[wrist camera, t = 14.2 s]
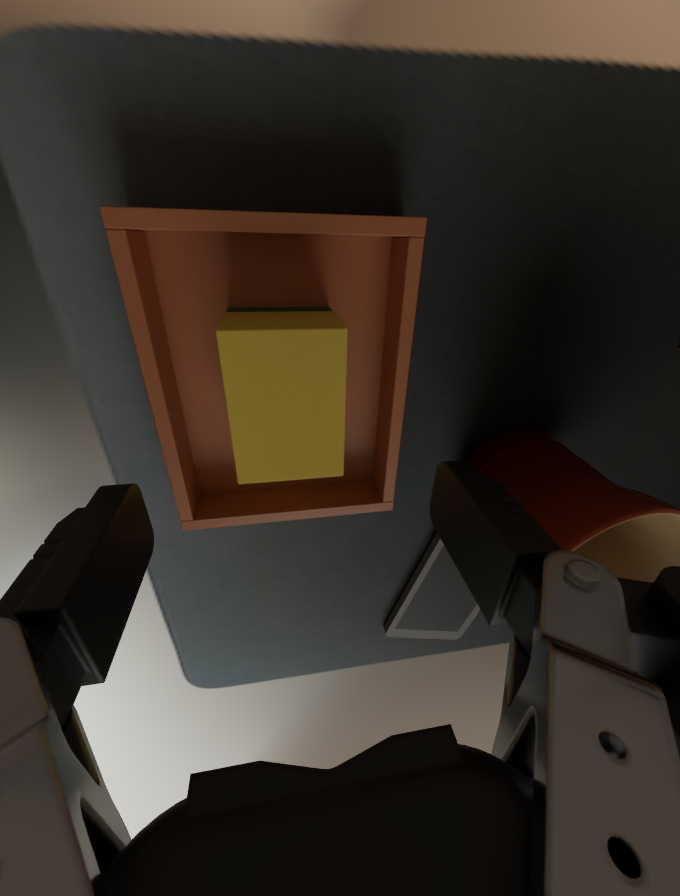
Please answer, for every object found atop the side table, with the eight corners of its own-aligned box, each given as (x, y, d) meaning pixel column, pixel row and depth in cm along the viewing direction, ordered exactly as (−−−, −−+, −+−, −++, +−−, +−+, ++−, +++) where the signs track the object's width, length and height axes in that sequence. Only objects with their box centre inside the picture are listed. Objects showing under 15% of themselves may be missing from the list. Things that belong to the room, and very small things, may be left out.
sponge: (227, 307, 18) (214, 329, 13) (329, 306, 18) (348, 327, 14) (243, 435, 21) (237, 485, 17) (329, 430, 22) (344, 476, 18)
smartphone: (456, 634, 36) (459, 640, 35) (381, 630, 34) (383, 637, 33) (537, 518, 30) (543, 524, 29) (452, 503, 27) (457, 510, 27)
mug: (434, 519, 28) (511, 647, 19) (456, 415, 24) (568, 519, 15) (571, 506, 30) (698, 617, 21) (614, 408, 26) (796, 496, 17)
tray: (127, 211, 16) (98, 205, 13) (403, 220, 18) (427, 217, 15) (192, 497, 23) (182, 531, 21) (379, 481, 25) (392, 510, 23)
